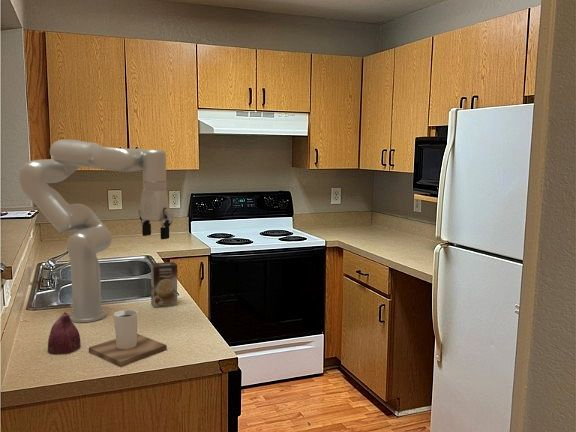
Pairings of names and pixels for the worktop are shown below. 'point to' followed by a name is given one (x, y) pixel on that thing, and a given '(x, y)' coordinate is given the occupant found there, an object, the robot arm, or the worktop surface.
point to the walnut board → (127, 351)
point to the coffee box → (163, 284)
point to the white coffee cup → (126, 329)
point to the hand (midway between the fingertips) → (155, 237)
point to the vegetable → (63, 336)
